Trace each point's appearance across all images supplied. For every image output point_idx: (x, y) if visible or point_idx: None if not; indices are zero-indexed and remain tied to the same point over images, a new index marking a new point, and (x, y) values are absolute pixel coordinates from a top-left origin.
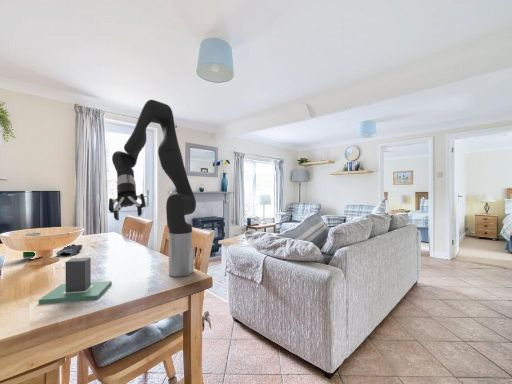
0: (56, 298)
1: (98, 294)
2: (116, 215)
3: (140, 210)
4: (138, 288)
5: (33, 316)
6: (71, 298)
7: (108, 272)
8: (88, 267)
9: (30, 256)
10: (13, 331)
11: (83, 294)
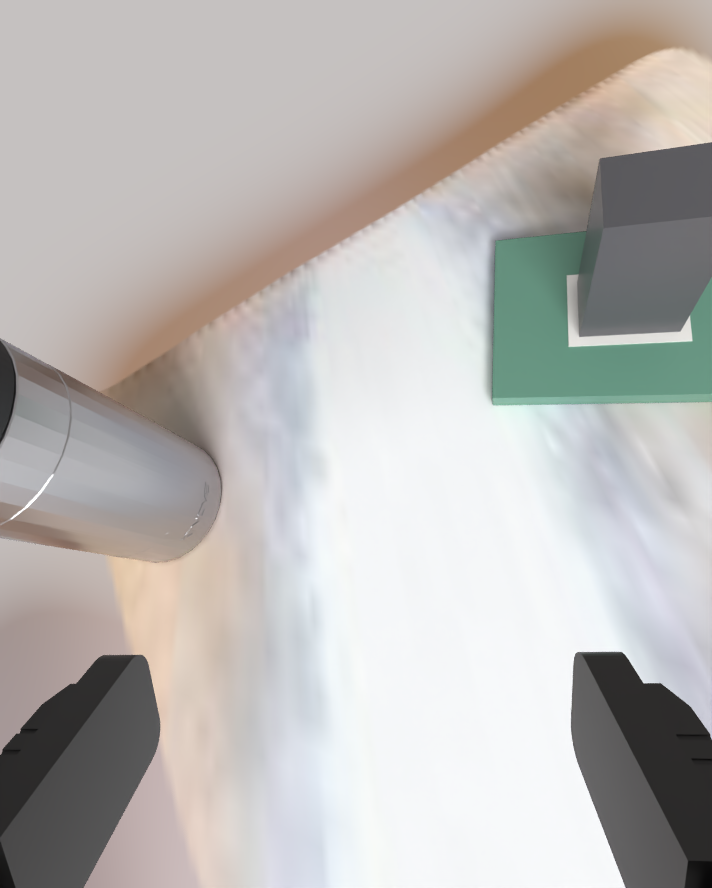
0: None
1: (495, 250)
2: (626, 699)
3: (17, 748)
4: (349, 337)
5: (684, 138)
6: None
7: (600, 636)
8: (593, 242)
9: None
10: (676, 64)
11: (566, 253)
